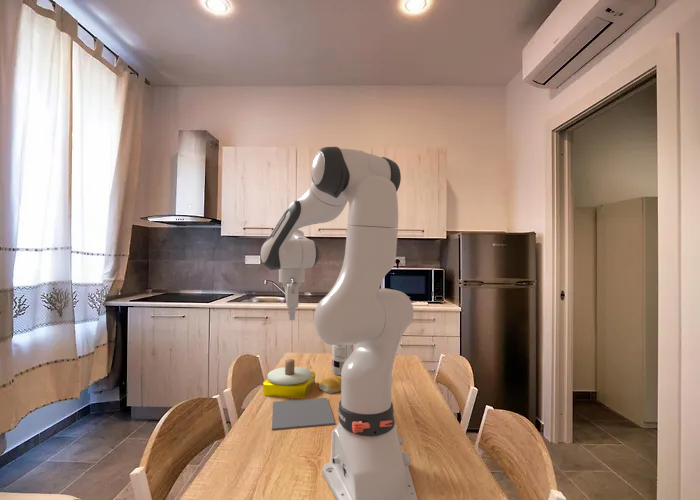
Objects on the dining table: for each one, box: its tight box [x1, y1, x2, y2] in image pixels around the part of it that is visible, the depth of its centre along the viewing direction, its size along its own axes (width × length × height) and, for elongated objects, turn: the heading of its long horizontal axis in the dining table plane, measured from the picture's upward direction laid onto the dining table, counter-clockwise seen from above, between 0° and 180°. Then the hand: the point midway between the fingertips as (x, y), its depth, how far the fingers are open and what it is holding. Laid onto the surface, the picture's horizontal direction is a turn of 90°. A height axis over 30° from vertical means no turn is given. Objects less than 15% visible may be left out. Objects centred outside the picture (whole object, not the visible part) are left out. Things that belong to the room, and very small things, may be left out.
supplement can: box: [331, 344, 354, 377], centre depth 137 cm, size 8×8×15 cm
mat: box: [271, 397, 336, 431], centre depth 102 cm, size 17×17×1 cm
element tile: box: [262, 370, 316, 399], centre depth 120 cm, size 15×15×5 cm
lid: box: [267, 358, 312, 385], centre depth 120 cm, size 15×15×6 cm
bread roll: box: [319, 375, 341, 394], centre depth 121 cm, size 8×9×4 cm
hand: (291, 317), depth 119 cm, fingers open, 8 cm apart
